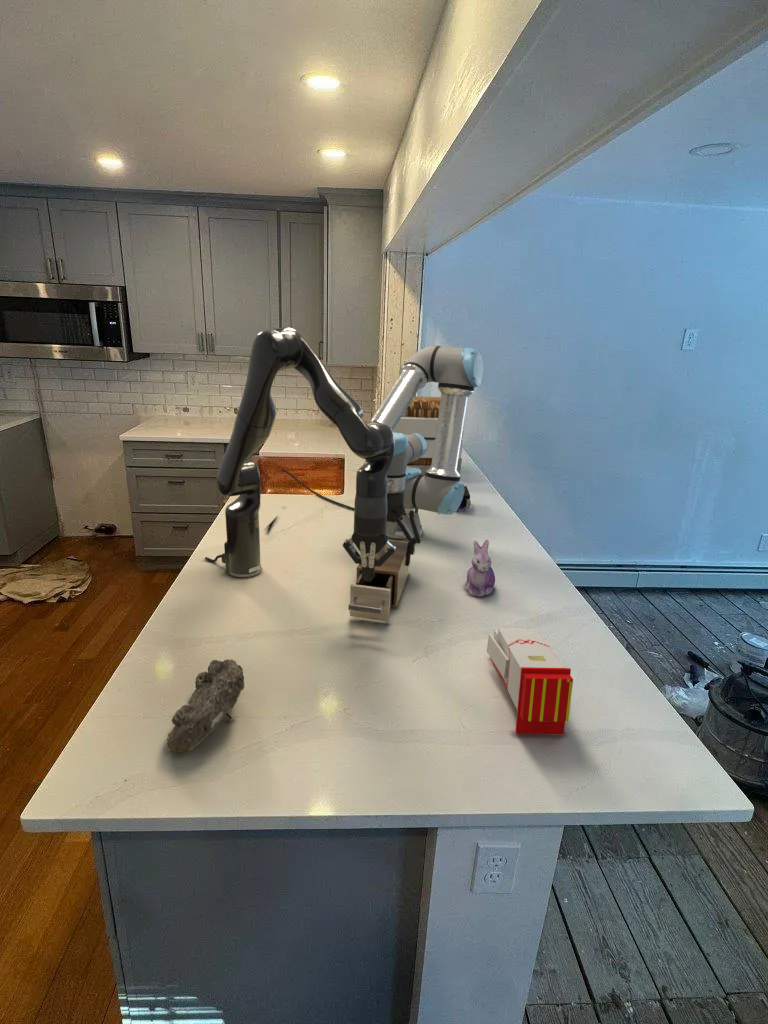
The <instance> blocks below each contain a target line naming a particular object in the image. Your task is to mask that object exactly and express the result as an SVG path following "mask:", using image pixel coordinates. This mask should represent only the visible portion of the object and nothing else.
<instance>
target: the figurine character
mask: <svg viewBox="0 0 768 1024" xmlns="http://www.w3.org/2000/svg"><path fill="white" fill-rule="evenodd" d="M464 486H465V487H464V489H465V490H464V495H463V499H462V501H461V504H460V506H459V507H458V509H457V510H456V512H460V510H463V511H464V513H466V512H467V509H470V508H471V505H472V504H471V501H472V500H471V494H470V491H469V488H468V486H467V485H464ZM466 508H467V509H466Z"/></svg>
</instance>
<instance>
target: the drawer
mask: <svg viewBox="0 0 768 1024" xmlns="http://www.w3.org/2000/svg"><path fill="white" fill-rule="evenodd" d="M394 588H395V575H390V574H382V573H375V575H374V578H373V580H372V579H371V581H370V582H369V581H364V579H363V578H362V572H361V574H360V576H359V578H358V580H357V581H356V580H355V583H351V584H350V592H349V594H350V595H349V604H348V606H347V607H348V608H347V609H348V611H349V617H354V618H355V617H356V618H362V619H369V620H377V621H383V622H389V621H390V611H391V607H390V606H391V604H392V601H393V598H394Z"/></svg>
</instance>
